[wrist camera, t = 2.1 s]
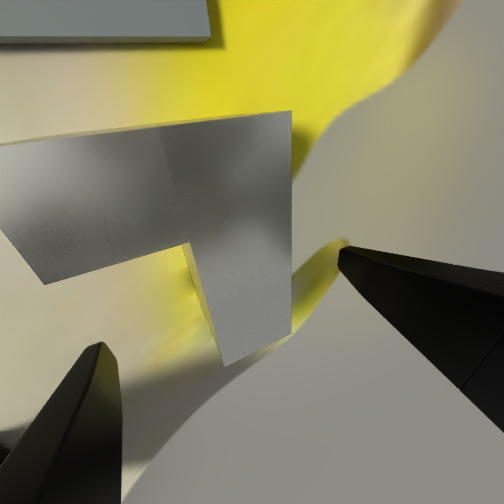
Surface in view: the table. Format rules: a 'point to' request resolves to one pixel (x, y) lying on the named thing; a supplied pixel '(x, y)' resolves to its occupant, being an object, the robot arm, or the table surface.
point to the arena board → (103, 21)
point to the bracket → (166, 212)
